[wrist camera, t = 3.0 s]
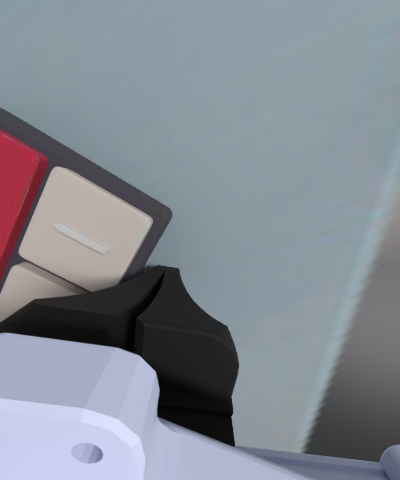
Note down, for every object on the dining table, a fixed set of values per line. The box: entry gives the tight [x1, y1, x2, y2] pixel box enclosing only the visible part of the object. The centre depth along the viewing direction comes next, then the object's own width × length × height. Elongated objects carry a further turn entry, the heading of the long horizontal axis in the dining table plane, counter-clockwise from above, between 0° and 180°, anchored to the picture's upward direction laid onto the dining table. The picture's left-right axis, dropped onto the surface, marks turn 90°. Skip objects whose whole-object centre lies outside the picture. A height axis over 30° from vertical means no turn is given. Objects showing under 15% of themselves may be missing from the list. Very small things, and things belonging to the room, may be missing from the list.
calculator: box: [0, 108, 172, 322], centre depth 11 cm, size 11×4×15 cm
